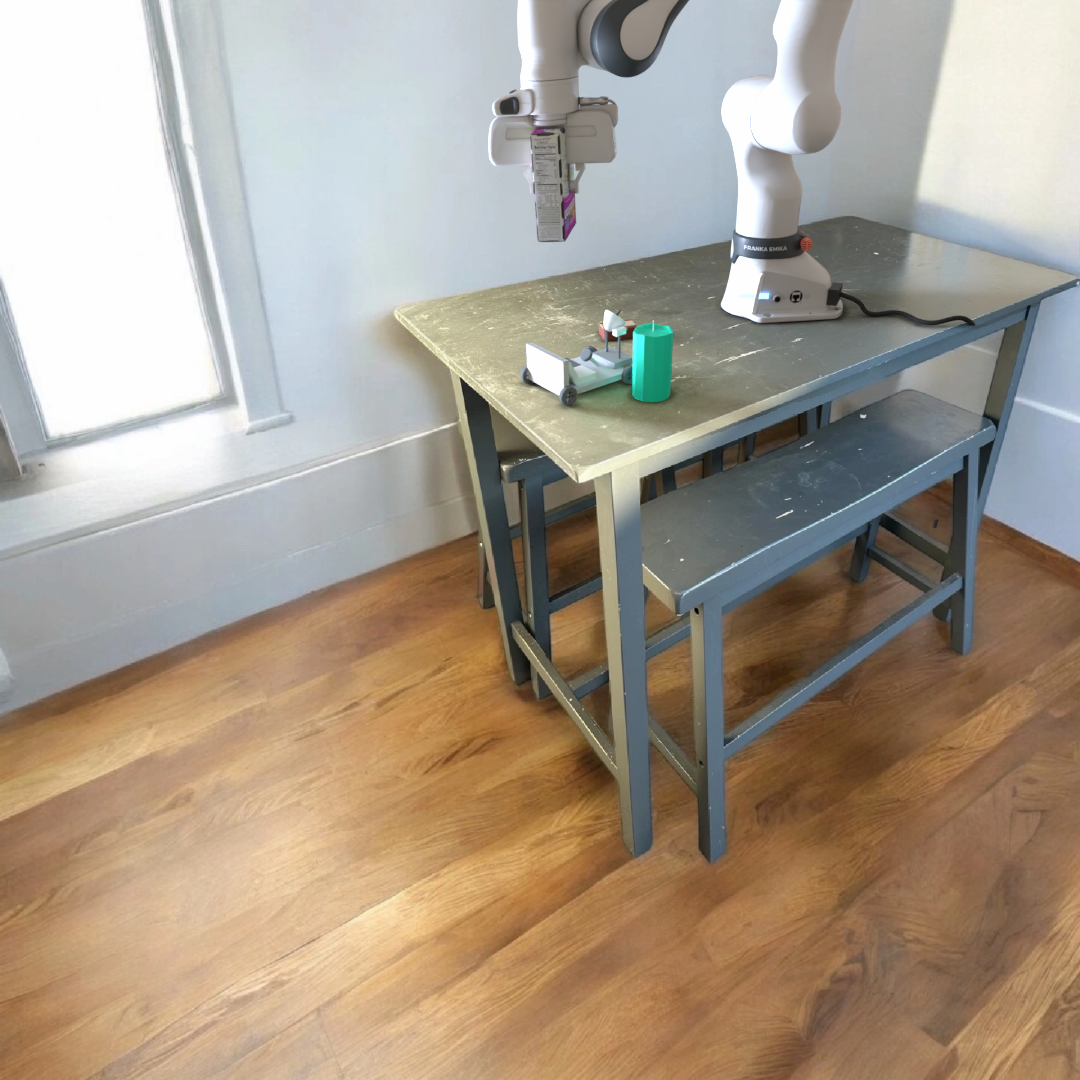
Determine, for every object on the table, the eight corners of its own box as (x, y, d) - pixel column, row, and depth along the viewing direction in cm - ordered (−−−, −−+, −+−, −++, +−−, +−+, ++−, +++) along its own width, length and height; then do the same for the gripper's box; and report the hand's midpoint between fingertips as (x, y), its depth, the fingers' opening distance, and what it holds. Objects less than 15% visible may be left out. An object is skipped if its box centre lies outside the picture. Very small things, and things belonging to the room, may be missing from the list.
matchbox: (630, 329, 157) (630, 318, 156) (636, 337, 154) (637, 326, 153) (598, 333, 156) (598, 322, 155) (604, 341, 153) (604, 330, 152)
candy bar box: (548, 224, 147) (543, 119, 138) (576, 224, 146) (573, 119, 137) (535, 242, 138) (528, 132, 129) (565, 242, 137) (561, 131, 128)
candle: (660, 405, 130) (663, 329, 123) (625, 397, 133) (626, 323, 126) (676, 390, 134) (680, 316, 127) (642, 383, 137) (644, 310, 130)
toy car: (606, 300, 141) (653, 318, 133) (606, 356, 147) (651, 377, 139) (516, 326, 133) (560, 347, 125) (520, 384, 139) (562, 408, 131)
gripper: (619, 92, 132) (619, 187, 140) (490, 98, 135) (497, 190, 143) (616, 98, 127) (617, 196, 134) (482, 104, 130) (490, 199, 138)
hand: (554, 193), depth 139 cm, fingers closed on candy bar box, 5 cm apart
